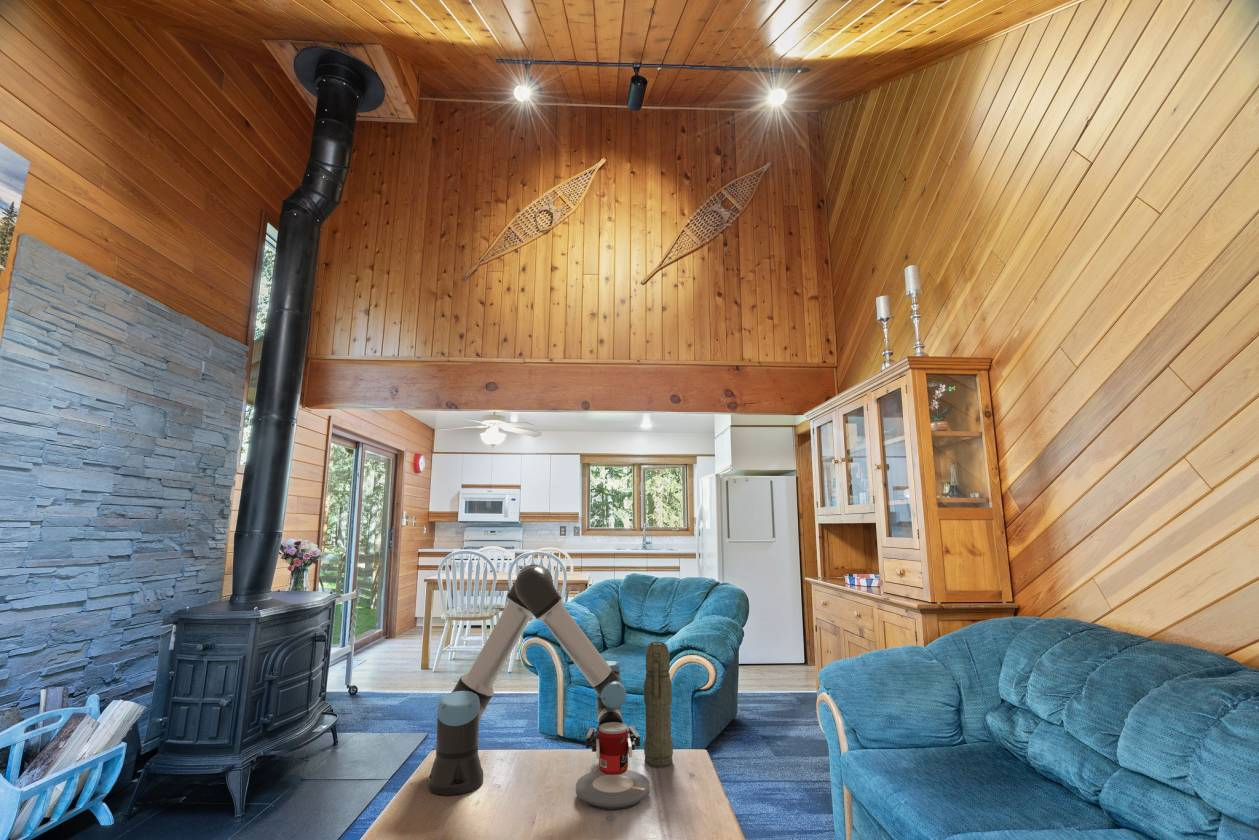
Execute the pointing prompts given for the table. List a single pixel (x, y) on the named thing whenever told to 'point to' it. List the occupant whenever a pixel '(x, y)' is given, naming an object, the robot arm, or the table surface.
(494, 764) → the table surface
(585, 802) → the turntable base
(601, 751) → the canned food
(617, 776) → the turntable
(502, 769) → the table surface
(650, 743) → the olive brown statue
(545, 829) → the table surface
